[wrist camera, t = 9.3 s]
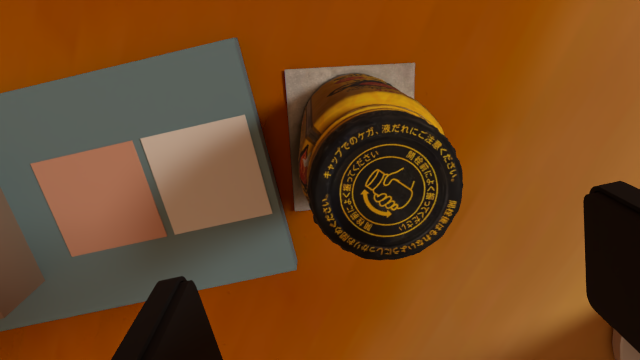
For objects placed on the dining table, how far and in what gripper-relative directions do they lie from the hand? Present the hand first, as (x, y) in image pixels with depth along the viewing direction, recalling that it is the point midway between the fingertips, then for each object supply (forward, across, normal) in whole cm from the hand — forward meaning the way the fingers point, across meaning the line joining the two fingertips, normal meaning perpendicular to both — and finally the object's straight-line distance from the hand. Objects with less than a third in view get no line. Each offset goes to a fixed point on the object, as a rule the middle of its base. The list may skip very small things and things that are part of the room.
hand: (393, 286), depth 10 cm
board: (+16, +16, 0) cm, 23 cm away
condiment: (+17, 0, 0) cm, 17 cm away
